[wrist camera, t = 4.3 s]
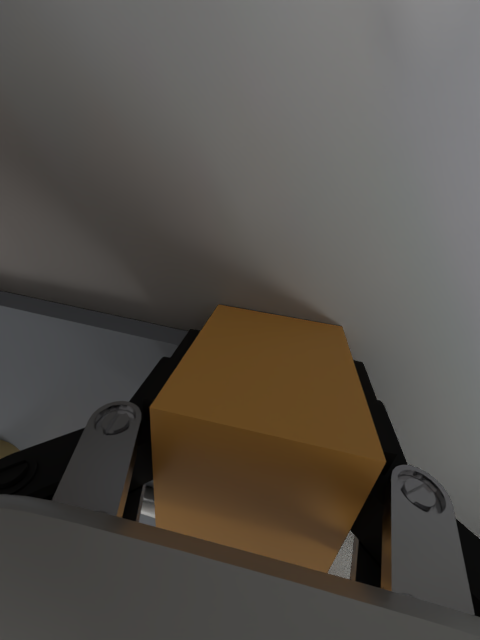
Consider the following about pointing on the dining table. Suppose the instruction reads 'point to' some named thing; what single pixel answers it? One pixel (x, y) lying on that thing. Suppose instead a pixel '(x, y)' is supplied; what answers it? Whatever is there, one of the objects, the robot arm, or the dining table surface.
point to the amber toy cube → (264, 438)
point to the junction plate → (70, 370)
